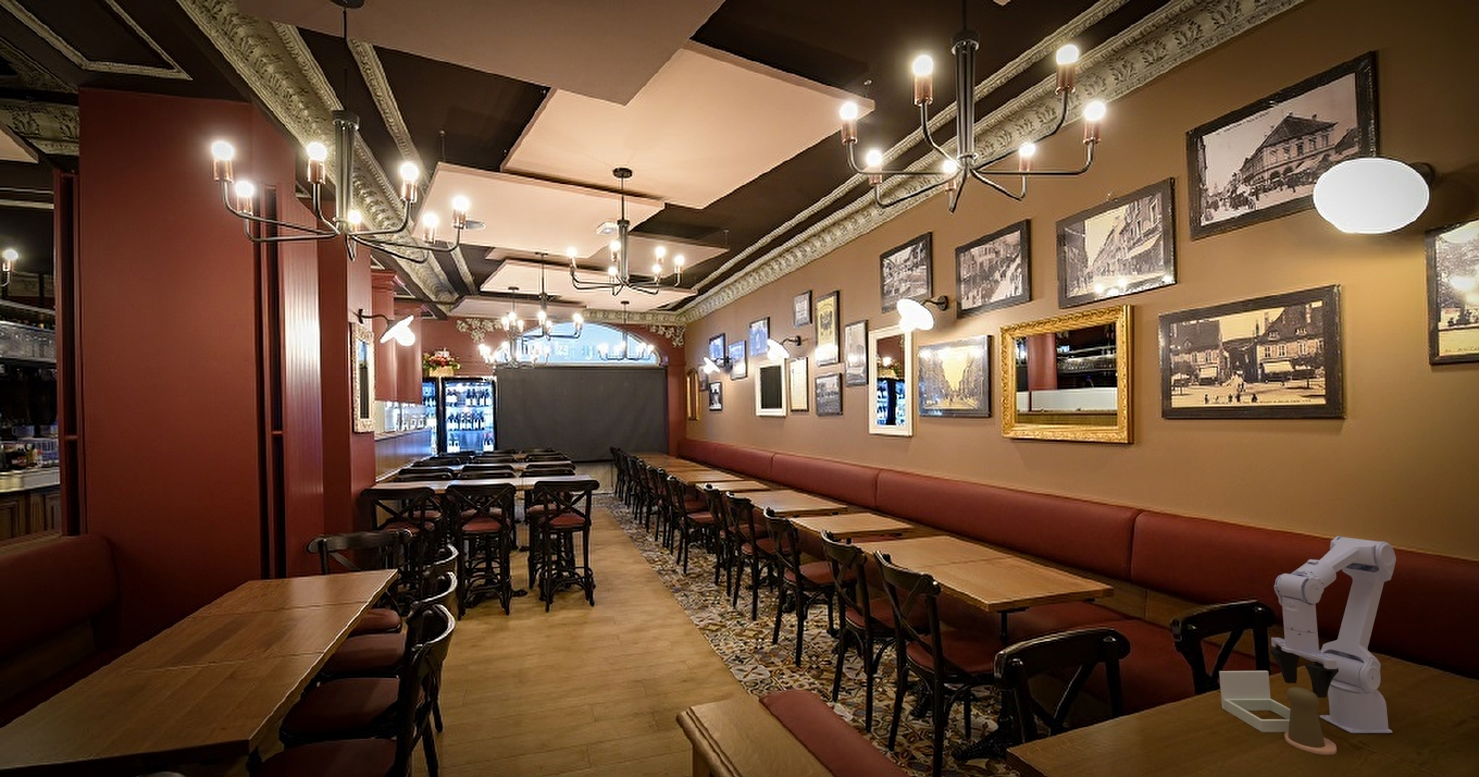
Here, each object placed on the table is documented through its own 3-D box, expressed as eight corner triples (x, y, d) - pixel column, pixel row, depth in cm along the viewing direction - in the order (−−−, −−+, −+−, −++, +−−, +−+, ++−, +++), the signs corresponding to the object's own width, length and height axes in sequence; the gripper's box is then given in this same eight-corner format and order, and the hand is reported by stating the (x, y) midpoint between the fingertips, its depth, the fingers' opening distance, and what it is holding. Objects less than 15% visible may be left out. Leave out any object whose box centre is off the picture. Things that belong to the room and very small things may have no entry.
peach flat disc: (1312, 734, 138) (1312, 730, 138) (1348, 754, 130) (1347, 749, 130) (1274, 735, 139) (1274, 730, 139) (1307, 754, 130) (1307, 749, 130)
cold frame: (1269, 707, 152) (1266, 670, 153) (1313, 731, 140) (1310, 691, 140) (1222, 707, 152) (1219, 671, 153) (1262, 731, 140) (1258, 691, 141)
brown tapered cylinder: (1332, 748, 131) (1328, 696, 131) (1300, 746, 132) (1295, 694, 133) (1312, 734, 137) (1308, 684, 137) (1281, 732, 138) (1277, 682, 139)
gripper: (1256, 618, 147) (1260, 676, 146) (1311, 639, 132) (1316, 703, 131) (1286, 618, 147) (1291, 676, 146) (1344, 639, 132) (1349, 703, 131)
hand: (1305, 689), depth 138 cm, fingers open, 7 cm apart
